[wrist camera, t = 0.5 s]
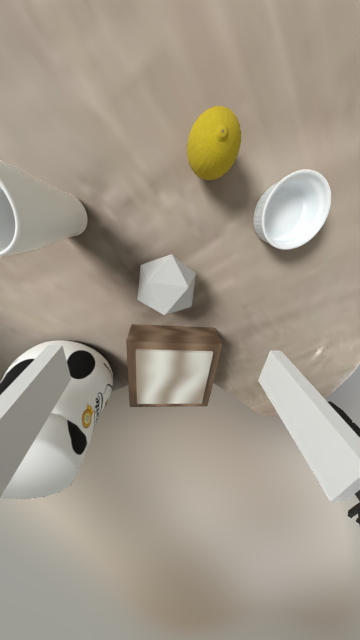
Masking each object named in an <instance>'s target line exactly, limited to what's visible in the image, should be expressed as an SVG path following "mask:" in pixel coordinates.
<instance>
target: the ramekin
mask: <svg viewBox="0 0 360 640" xmlns="http://www.w3.org/2000/svg"><path fill="white" fill-rule="evenodd" d="M330 205H331V191H330V187H329V184H328V182H327V180H326V179H325V178H324V176H322V175H321V174H320V173H318V172H316V171H313V170H299V171H296V172H293V173H291V174H289V175H288V176H286V177H285V178H283V179H282V180H281V181H279V182H278V183H276V184H274V185H273V186H271V187H270V188H269V189H268V190H266V191H265V193H264V194H263V195H262V196H261V198H260V199H259V201H258V203H257V205H256V207H255V211H254V216H253V224H254V229H255V231H256V233H257V235H258V236H259V237H260V238H261V239H262V240H263V241H265V242H267V243H269V244H270V245H272V246H273V247H275V248H278V249H282V250H289V249H294V248H297V247H299V246H302V245H303V244H305V243H307V242H308V241H309V240H311V239H312V238H313V237H314V236H315V235H316V234H317V233H318V232H319V230H320V229H321V227H322V226H323V224H324V222H325V221H326V218H327V216H328V213H329V210H330Z"/></svg>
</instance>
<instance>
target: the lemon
mask: <svg viewBox="0 0 360 640" xmlns="http://www.w3.org/2000/svg"><path fill="white" fill-rule="evenodd" d="M240 143H241V130H240V124H239V122H238V119H237V117H236V116H235V114H234V113H233V112H232V111H231V110H230V109H228V108H226V107H223V106H214V107H212V108H210V109H208V110H206V111H205V112H204V113H203V114H201V115H200V116H199V117H198V119H197V120H196V122H195V123H194V125H193V127H192V129H191V132H190V134H189V139H188V144H187V155H188V160H189V164H190V166H191V169H192V170H193V171H194V173H195V174H196V175H197V176H198V177H200V178H202V179H204V180H214V179H218V178H220V177H221V176H223V175H224V174H225V173H226V172H227V171H228V170H229V169H230V168H231V167H232V165H233V163H234V162H235V160H236V157H237V155H238V152H239V148H240Z"/></svg>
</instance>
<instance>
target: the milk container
mask: <svg viewBox="0 0 360 640" xmlns="http://www.w3.org/2000/svg"><path fill="white" fill-rule="evenodd" d="M48 345H62V346H63V349H64V353H65V357H66V361H67V364H68V368H69V372H70V376H71V380H70V382H69V384H68V385H67V387H66V389H65V390H64V392H63V394H62V395H61V397H60V399H59V400H58V402H57V404H56V405H55V407H54V409H53V410H52V412H51V414H50V415H49V417H48V419H47V420H46V422H45V424H44V425H43V427H42V429H41V430H40V432H39V434H38V435H37V437H36V439H35V440H34V442H33V444H32V445H31V447H30V449H29V450H28V452H27V454H26V455H25V457H24V459H23V460H22V462H21V464H20V466H19V467H18V469H17V471H16V472H15V474H14V476H13V477H12V479H11V481H10V482H9V484H8V486H7V487H6V489H5V491H4V492H3V494H2V496H1V497H0V498H12V499H13V498H15V499H28V498H36V497H45V496H48V495H52V494H55V493H59V492H61V491H63V490H64V489H65V488H67V487H69V486H70V485H71V484H72V482H73V481H74V479H75V477H76V475H77V473H78V471H79V469H80V467H81V465H82V462H83V460H84V458H85V455H86V452H87V447H88V446H89V444H90V441H91V437H92V434H93V431H94V427H95V425H96V422H97V419H98V417H99V415H100V414H101V412H102V411H103V410H104V408H105V406H106V405H107V403H108V401H109V399H110V396H111V393H112V388H113V372H112V369H111V367H110V365H109V363H108V361H107V360H106V359H105V358H104V357H103V356H102V355H101V354H100V353H99V352H98V351H96V350H95V349H93V348H91V347H89V346H87V345H85V344H82V343H79V342H74V341H69V340H55V341H48V342H44V343H41V344H38V345H36V346H34V347H33V348H31V349H29V350H28V351H26V352H25V353H23V354H22V355H21V356H19V357H18V358H17V359H16V360H15V361H14V362H13V363H12V364H11V365H10V367H9V368H8V370H7V371H6V373H5V374H4V376H3V378H2V380H1V382H0V395H1V394H2V393H3V392H4V391H5V390H6V389H7V388H8V387H9V386H10V385H11V384H12V383H13V381H14V380H15V379H16V378H17V377H18V376H19V375H20V374H21V373H22V372H23V371H24V370H25V369H26V368H27V367H28V366H29V365H30V364H31V363H32V362H33V361H34V359H35V358H36V357H37V356H38V355H39V354H40V353H41V352H42V351H43V350H44V349H45V348H46V347H47V346H48Z"/></svg>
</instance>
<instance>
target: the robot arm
mask: <svg viewBox="0 0 360 640" xmlns="http://www.w3.org/2000/svg"><path fill="white" fill-rule="evenodd" d="M70 380H71V376H70V372H69V368H68V364H67V361H66V357H65V353H64V349H63V346H62V345H48V346H47V347H46V348H45V349H44V350H43V351H42V352H41V353H40V354H39V355H38V356H37V357H36V358H35V359H34V361H33V362H32V363H31V364H30V365H29V366H28V367H27V368H26V369H25V370H24V371H23V372H22V373H21V374H20V375H19V376H18V377H17V378H16V379H15V380H14V381H13V383H12V384H11V385H10V386H9V387H8V388H7V389H6V390H5V391H4V392H3V393H2V394H1V395H0V497H1V496H2V494H3V492H4V491H5V489H6V487H7V486H8V484H9V482H10V481H11V479H12V477H13V476H14V474H15V472H16V471H17V469H18V467H19V466H20V464H21V462H22V460H23V459H24V457H25V455H26V454H27V452H28V450H29V449H30V447H31V445H32V444H33V442H34V440H35V439H36V437H37V435H38V434H39V432H40V430H41V429H42V427H43V425H44V424H45V422H46V420H47V419H48V417H49V415H50V414H51V412H52V410H53V409H54V407H55V405H56V404H57V402H58V400H59V399H60V397H61V395H62V394H63V392H64V390H65V389H66V387H67V385H68V384H69V382H70ZM258 381H259V382H260V384H261V386H262V387H263V389H264V391H265V392H266V394H267V396H268V397H269V399H270V401H271V403H272V404H273V406H274V408H275V409H276V411H277V413H278V414H279V416H280V418H281V419H282V421H283V422H284V424H285V426H286V428H287V429H288V431H289V433H290V434H291V436H292V438H293V440H294V441H295V443H296V445H297V446H298V448H299V450H300V451H301V453H302V455H303V456H304V458H305V460H306V461H307V463H308V465H309V466H310V468H311V470H312V472H313V473H314V475H315V477H316V478H317V480H318V482H319V483H320V485H321V486H322V488H323V490H324V492H325V493H326V495H327V497H328V498H329V500H330V502H335V501H347V500H348V499H350V498H351V497H352V496H353V495H356V496H357V498H358V499H359V501H360V428H359V427H358V426H357V425H356V424H355V423H353V422H352V420H351V419H350V418H349V417H348V416H347V415H346V414H345V413H344V411H343V410H341V409H340V408H339V407H337V406H336V405H335V404H333V403H332V402H327V401H326V400H325V399H324V398H323V397H322V396H321V394H320V393H319V392H318V391H317V390H316V389H315V388H314V387H313V386H312V385H311V383H310V382H309V381H308V380H307V379H306V378H305V377H304V376H303V375H302V374H301V372H300V371H299V370H298V369H297V368H296V367H295V366H294V365H293V364H292V363H291V361H290V360H289V359H288V358H287V357H286V356H285V355H284V354H283V353H282V352H281V351H270V353H269V355H268V358H267V360H266V362H265V365H264V367H263V370H262V372H261V375H260V377H259V380H258ZM356 514H358V516H359V517H358V518H357V520H356V522H358V523H359V524H360V502H359V503H358V504H357V505H355V506H354V507H353V508H351V509H350V510H349V511H348V516H349V517H350V518H352V517H353V516H355V515H356Z"/></svg>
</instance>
